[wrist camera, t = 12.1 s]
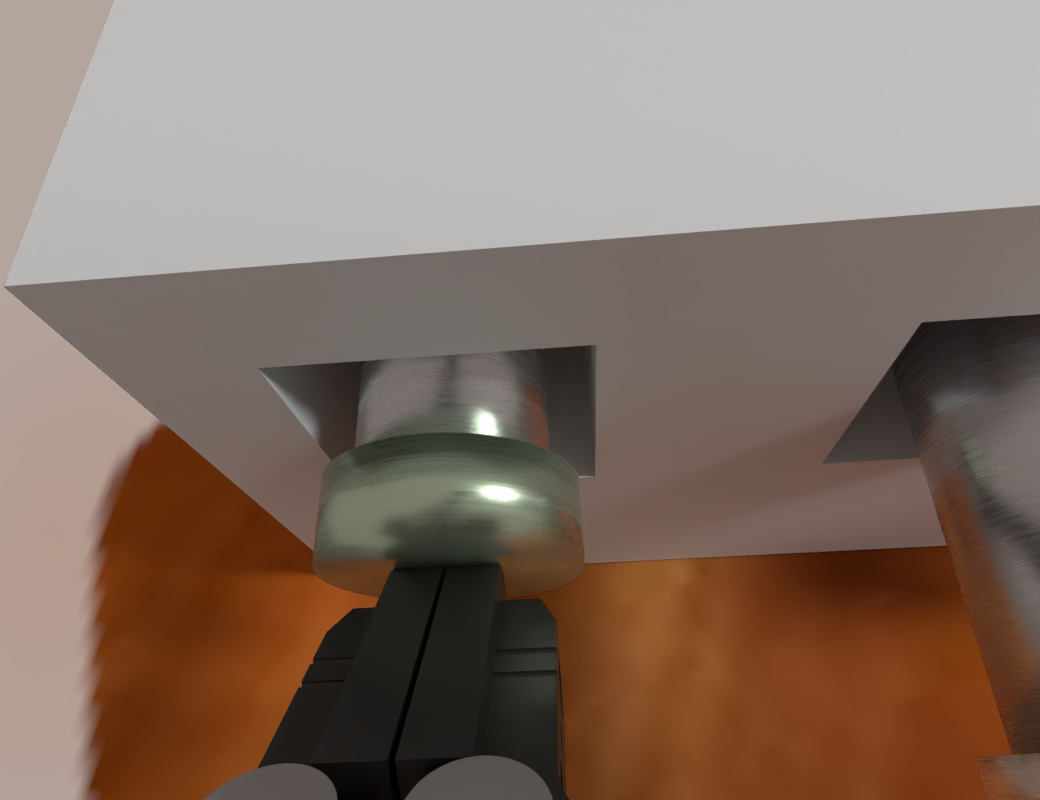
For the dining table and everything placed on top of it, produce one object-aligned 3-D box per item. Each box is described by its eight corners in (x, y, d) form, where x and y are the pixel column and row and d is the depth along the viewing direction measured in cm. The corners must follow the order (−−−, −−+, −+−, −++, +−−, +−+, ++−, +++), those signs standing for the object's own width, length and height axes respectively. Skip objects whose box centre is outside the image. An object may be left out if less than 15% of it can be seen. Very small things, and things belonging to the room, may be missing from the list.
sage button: (586, 596, 11) (583, 521, 8) (357, 607, 11) (267, 537, 8) (556, 164, 16) (546, 4, 12) (391, 178, 16) (341, 26, 13)
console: (1406, 522, 16) (2799, 66, 6) (342, 575, 18) (3, 286, 7) (1163, 138, 22) (1658, -428, 12) (376, 203, 23) (210, -246, 13)
